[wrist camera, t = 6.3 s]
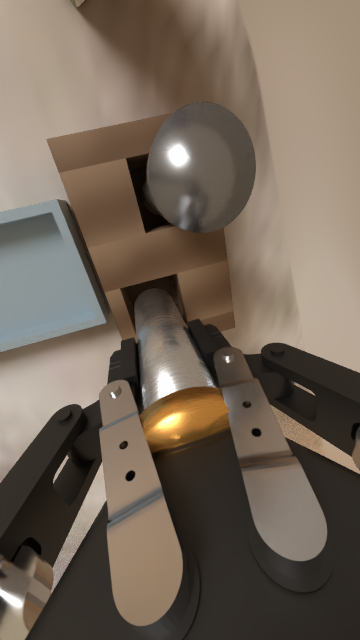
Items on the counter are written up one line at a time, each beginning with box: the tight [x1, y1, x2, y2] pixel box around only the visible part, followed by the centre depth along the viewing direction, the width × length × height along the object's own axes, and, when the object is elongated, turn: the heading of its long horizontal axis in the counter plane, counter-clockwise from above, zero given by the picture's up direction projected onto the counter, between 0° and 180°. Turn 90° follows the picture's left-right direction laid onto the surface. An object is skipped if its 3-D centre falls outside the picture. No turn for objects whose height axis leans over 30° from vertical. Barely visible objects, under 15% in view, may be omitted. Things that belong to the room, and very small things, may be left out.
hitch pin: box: [134, 288, 230, 455], centre depth 13 cm, size 4×4×13 cm
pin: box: [142, 102, 256, 233], centre depth 15 cm, size 4×4×13 cm
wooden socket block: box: [46, 113, 235, 343], centre depth 20 cm, size 16×10×5 cm, turn 12°
